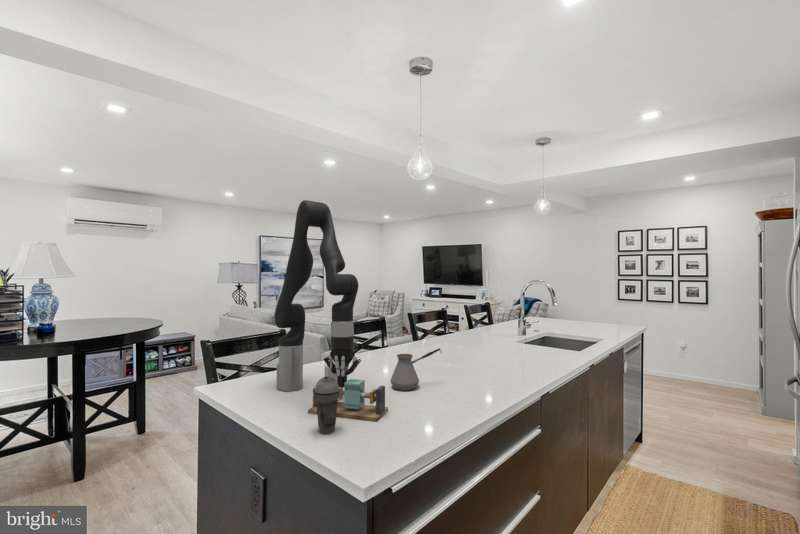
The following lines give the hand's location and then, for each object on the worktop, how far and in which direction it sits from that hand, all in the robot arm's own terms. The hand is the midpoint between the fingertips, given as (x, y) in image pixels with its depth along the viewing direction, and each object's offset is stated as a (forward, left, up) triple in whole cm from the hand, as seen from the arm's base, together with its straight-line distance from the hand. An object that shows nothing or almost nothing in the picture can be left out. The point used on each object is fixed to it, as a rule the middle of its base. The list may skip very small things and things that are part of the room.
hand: (342, 386), depth 129 cm
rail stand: (+2, 0, -8) cm, 8 cm away
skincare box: (-9, +11, -8) cm, 16 cm away
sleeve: (+4, 0, -6) cm, 7 cm away
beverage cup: (+3, -15, -8) cm, 18 cm away
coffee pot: (+16, +34, -8) cm, 39 cm away
